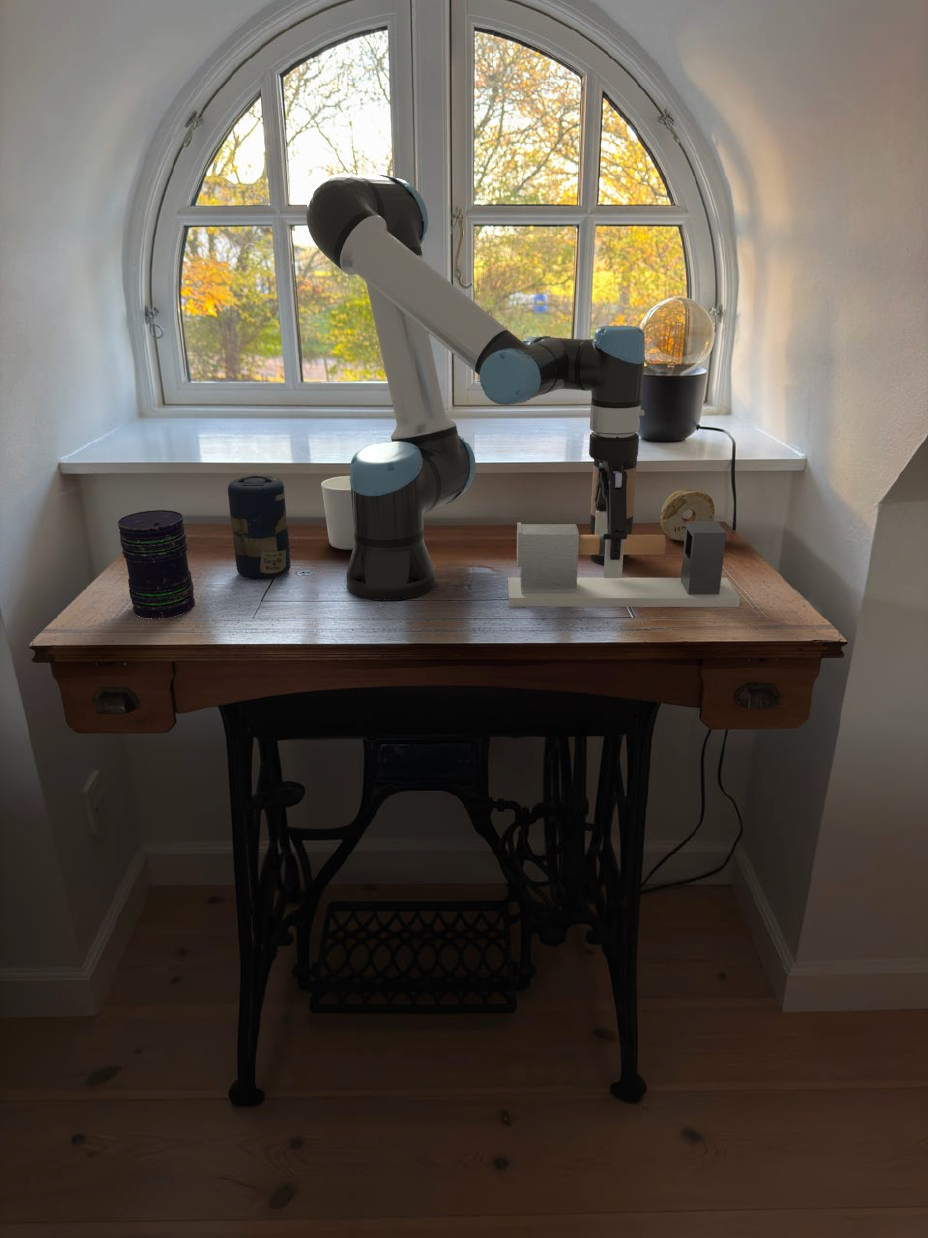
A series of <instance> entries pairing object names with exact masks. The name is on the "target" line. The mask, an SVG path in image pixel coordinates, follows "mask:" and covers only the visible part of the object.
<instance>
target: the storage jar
mask: <svg viewBox="0 0 928 1238" xmlns="http://www.w3.org/2000/svg"><path fill="white" fill-rule="evenodd" d="M117 525H118V529H119V541H120V546H121V547H122V548H121V549H122V552H121V553H122V554H123V558H124V559H125V562H126V568H127V573H128V579H127V581H128V587H129V589H128V592H129V597H130V599H131V603H132V605H133V607H132V610H133V614H134V613H135V614H136V615H137V616H136V615H135V614H134V615H135V616H136V617H138V616H140V617H139V618H141V617H142V619H145V618H150V619H149V620H162V619H161V618H166V619H170V617H172V618H175V617H174V616H176V617H179V616H181V615H180V614H182V615H184V614H183V613H185V614H186V612H187V613H189V612H190V611H192V610H193V609H194V608H195V606H196V601H195V599H194V595H195V592H194V583H193V579H192V573H191V571H190V567H189V563H188V557H187V556H188V555H187V551H188V542H187V535H186V529H185V525H184V517H183V514H182V513H180V512H177V511H175V510H167V509H159V510H158V509H156V510H147V511H146V510H145V511H138V512H134V513H130V514H128V515H125V516H122V517H121V518H120V519H119V520H118V521H117ZM193 607H194V608H193ZM192 608H193V609H192ZM191 609H192V610H191ZM188 611H189V612H188ZM178 615H179V616H178ZM151 618H152V619H151ZM159 618H160V619H159Z"/></svg>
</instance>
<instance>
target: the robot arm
mask: <svg viewBox="0 0 928 1238" xmlns="http://www.w3.org/2000/svg"><path fill="white" fill-rule="evenodd" d="M425 204H426V203H425V201H424V200H423V198H422V196H421V194H420V192H419V191H418V190H417V189H416V188H415V187H414V186H413V185H412V184H410V183H409V182H407V181H406V180H404V179H401V178H397V177H394V176H390V175H385V174H380V175H372V174H370V175H367V174H352V173H337V174H333V175H330V176H328V177H326V178H324V179H323V180H322V181H320V182H319V183H318V184H317V185H316V187H314V189H313V190H312V193H311V194H310V195H309V198H308V202H307V203H306V214H305V216H306V224H307V228H308V232H309V234H310V236H311V238H312V241H313V242H314V244H315V245H316V247H317V248H318V249H319V250H320V252H321V253H322V254H323V255H324V256H325V257H326V258H327V259H328V260H330V262H332V263H333V264H334V265H335V266H336V267H338V268H339V269H340V270H341V271H342V272H344V273H345V274H347V275H349V276H354V275H357V276H358V277H359V278H361V279H362V280H363V281H364V282H365V283H366V284H365V285H366V289H367V293H368V298H369V302H370V307H371V312H372V316H373V321H374V327H375V330H376V334H377V339H378V343H379V349H380V353H381V357H382V361H383V362H382V363H383V366H384V370H385V371H384V372H385V375H386V376H385V377H386V380H387V381H386V382H387V385H388V389H389V394H390V399H391V404H392V408H393V413H394V416H395V417H394V418H395V421H396V427H395V429H394V430H393V432H392V434H391V435H390V441H385V442H382V443H375V444H371V445H369V446H366V447H363V448H361V449H360V450H358V451H357V452H355V454H354V455H353V456H352V457H351V458H352V459H351V460H350V475H349V476H350V486H351V495H352V510H353V524H354V540H355V543H354V547H353V549H352V552H351V555H350V559H349V563H348V567H347V569H346V570H347V571H346V575H345V577H346V578H345V579H346V588H347V590H348V591H349V592H350V593H351V594H353V595H354V596H357V597H359V598H363V599H367V600H373V601H399V600H407V599H408V600H409V599H412V598H417V597H419V596H422V595H424V594H426V593H429V592H430V591H431V590H432V589H433V588H434V586H435V585H436V573H435V572H436V571H435V567H434V565H433V562H432V560H431V556H430V554H429V551H428V548H427V546H426V543H425V539H424V537H425V536H424V514H426V513H428V512H430V511H432V510H434V509H437V508H438V507H439V508H440V507H441V506H443V505H447V504H450V503H452V502H454V501H455V500H457V499H458V498H459V497H460V496H462V495H463V494H465V492H466V491H468V489H469V488H470V487H471V484H472V483H473V481H474V478H475V474H476V464H477V463H476V458H475V457H476V456H475V454H474V453H475V452H474V450H473V449H472V447H471V445H470V444H469V442H466V441H465V438H464V437H462V435H459V433H458V427H457V423H456V422H455V421H454V420H452V419H451V418H449V417H448V416H447V415H446V412H445V408H444V402H443V396H442V392H441V388H440V382H439V376H438V373H437V367H436V363H435V358H434V353H433V348H432V343H431V338H430V337H433V338H434V339H435V340H436V341H437V342H439V343H440V344H441V345H443V346H444V348H446V349H447V350H448V351H449V352H450V353H451V354H453V355H454V356H455V357H457V358H458V360H459V359H460V361H462V362H463V363H464V364H465V365H466V366H468V367H469V368H470V369H471V370H472V371H474V372H475V373H476V375H478V376H479V384H480V386H481V388H482V390H483V392H484V395H485V396H486V398H488V399H489V400H490V401H492V402H493V403H495V404H496V405H501V406H510V405H516V404H523V403H526V402H527V401H529V400H531V399H533V398H536V397H539V396H542V395H546V394H548V393H551V392H554V391H557V390H575V391H584V392H587V391H589V392H591V399H590V400H591V401H590V413H589V414H590V416H589V429H590V430H591V431H592V432H591V433H590V434H589V443H588V444H589V447H588V455H589V457H590V458H591V459H593V460H594V459H595V460H598V461H599V469H598V479H597V487H596V495H595V499H594V500H595V503H596V510H599V511H596V520H595V535H598V534H599V533H608V534H604V535H603V539H606V544H605V563H604V566H603V578H623V550H624V539H626V538H627V506H626V485H627V478H628V476H627V472H626V471H624V467H623V463H624V462H626V461H631V460H634V459H635V458H637V459H638V456H639V445H640V444H639V443H640V442H639V441H640V436H639V433H637V432H638V431H639V430H640V427H641V426H640V425H641V424H640V422H641V419H640V417H644V416H645V410H644V409H641V407H642V406H641V405H642V393H643V386H644V385H643V384H644V383H643V382H644V370H645V363H646V355H645V354H646V353H645V352H646V351H645V349H646V346H645V345H646V336H645V332H644V330H643V329H642V328H640V327H638V326H634V325H603V326H602V325H601V326H599V327H596V328H595V330H594V333H593V338H590V339H588V338H587V339H580V338H567V337H554V336H553V337H551V336H550V335H544V336H543V335H542V336H530V337H526V338H525V339H524V340H523V341H522V340H521V339H520V338H518V337H517V336H516V335H514V334H513V332H510V330H508V328H506V327H504V325H503V324H502V323H500V322H499V321H497V320H496V319H495V318H494V317H493V316H491V315H490V314H489V313H488V312H486V310H485V309H483V308H482V307H481V306H479V305H478V304H477V303H476V302H474V301H473V300H472V299H471V298H470V297H469V296H467V295H466V294H465V293H463V292H462V291H461V290H460V289H459V288H458V287H456V285H454V284H452V283H451V282H450V281H449V280H447V278H446V277H444V276H443V275H442V274H440V273H439V272H438V271H437V270H436V269H434V268H433V267H432V266H431V265H429V264H428V263H427V262H426V261H425V260H423V259H424V256H423V250H422V245H421V244H422V243H423V242H424V240H425V235H426V234H427V232H428V227H429V216H428V210H427V207H426V205H425ZM614 530H620V531H614Z"/></svg>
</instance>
